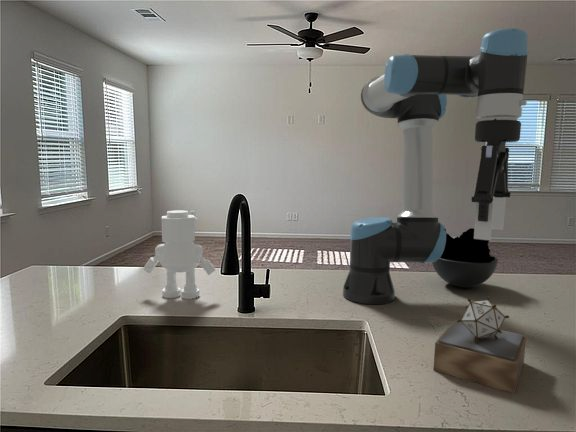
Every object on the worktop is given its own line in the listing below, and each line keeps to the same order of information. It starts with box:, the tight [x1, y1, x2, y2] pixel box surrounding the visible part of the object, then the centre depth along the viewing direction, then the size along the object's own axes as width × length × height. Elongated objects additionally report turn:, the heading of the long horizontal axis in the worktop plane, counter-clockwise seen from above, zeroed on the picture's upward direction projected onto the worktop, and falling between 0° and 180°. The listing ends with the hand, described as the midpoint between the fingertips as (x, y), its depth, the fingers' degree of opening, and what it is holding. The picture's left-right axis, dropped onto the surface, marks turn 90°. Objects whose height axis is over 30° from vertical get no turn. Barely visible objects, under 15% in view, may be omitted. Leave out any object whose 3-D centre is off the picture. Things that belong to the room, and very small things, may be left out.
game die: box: [457, 296, 510, 343], centre depth 83 cm, size 9×8×10 cm
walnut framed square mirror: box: [433, 319, 527, 394], centre depth 84 cm, size 14×14×6 cm
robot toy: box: [143, 209, 216, 300], centre depth 124 cm, size 22×12×25 cm, turn 84°
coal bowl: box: [431, 227, 499, 288], centre depth 137 cm, size 20×20×19 cm
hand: (489, 234), depth 81 cm, fingers open, 13 cm apart
